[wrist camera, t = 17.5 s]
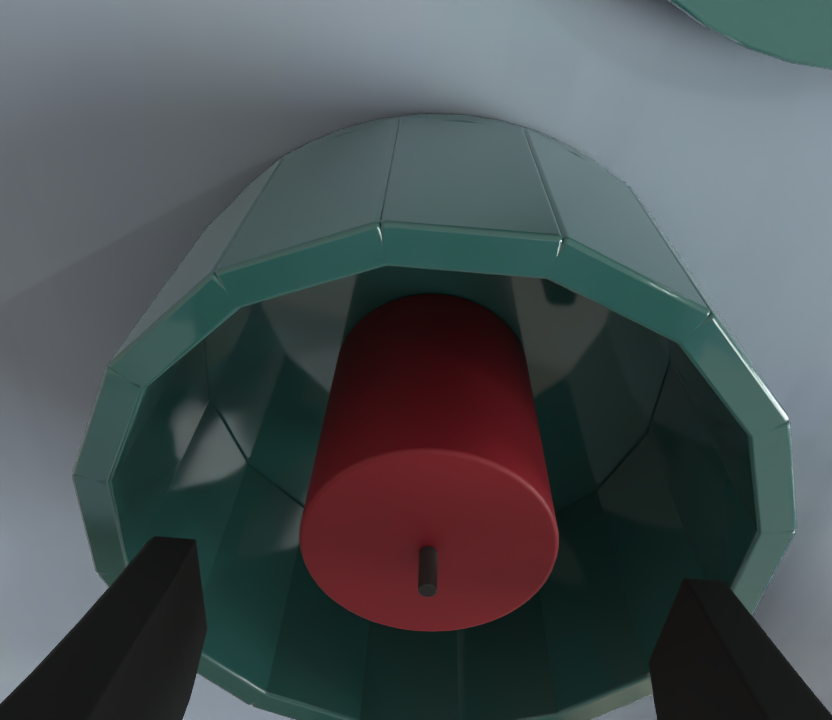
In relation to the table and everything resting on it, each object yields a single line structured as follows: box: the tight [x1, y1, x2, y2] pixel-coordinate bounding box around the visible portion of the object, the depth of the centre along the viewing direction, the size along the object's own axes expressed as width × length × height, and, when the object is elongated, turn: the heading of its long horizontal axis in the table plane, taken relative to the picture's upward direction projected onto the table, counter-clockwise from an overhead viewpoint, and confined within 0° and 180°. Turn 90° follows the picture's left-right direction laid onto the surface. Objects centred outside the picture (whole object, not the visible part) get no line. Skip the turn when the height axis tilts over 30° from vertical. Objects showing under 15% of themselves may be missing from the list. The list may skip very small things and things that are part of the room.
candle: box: [299, 294, 559, 632], centre depth 13 cm, size 4×4×6 cm
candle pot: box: [72, 114, 796, 720], centre depth 14 cm, size 11×11×6 cm
